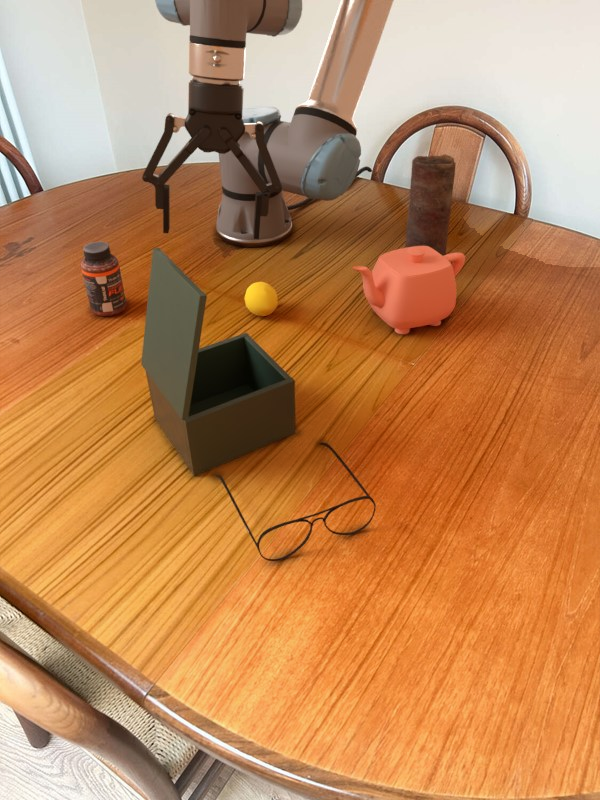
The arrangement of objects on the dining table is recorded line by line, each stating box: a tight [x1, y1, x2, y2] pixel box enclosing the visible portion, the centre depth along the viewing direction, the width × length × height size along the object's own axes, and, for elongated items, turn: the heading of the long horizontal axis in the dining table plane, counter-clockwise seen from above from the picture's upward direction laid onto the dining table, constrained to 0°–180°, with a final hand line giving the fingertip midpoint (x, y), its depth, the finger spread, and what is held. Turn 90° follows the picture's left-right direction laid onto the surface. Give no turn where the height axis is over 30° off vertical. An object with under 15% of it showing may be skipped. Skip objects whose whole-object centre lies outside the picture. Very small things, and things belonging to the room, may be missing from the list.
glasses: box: [215, 442, 377, 562], centre depth 76 cm, size 14×15×5 cm
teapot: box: [352, 246, 466, 335], centre depth 104 cm, size 20×12×12 cm, turn 114°
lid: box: [140, 247, 208, 420], centre depth 74 cm, size 15×13×1 cm
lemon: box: [243, 281, 279, 317], centre depth 107 cm, size 7×5×5 cm
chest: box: [144, 332, 296, 477], centre depth 84 cm, size 15×13×9 cm
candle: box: [404, 153, 457, 256], centre depth 114 cm, size 8×7×20 cm
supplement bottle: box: [80, 241, 127, 317], centre depth 107 cm, size 6×6×11 cm
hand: (211, 233), depth 100 cm, fingers open, 13 cm apart
